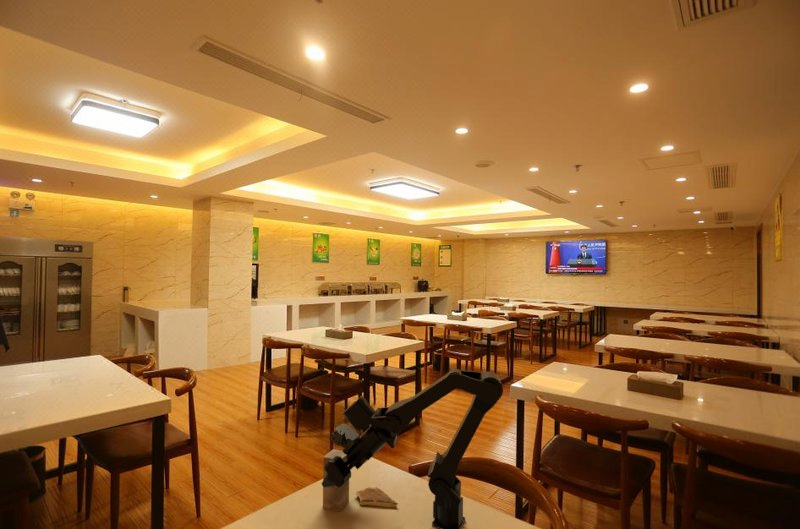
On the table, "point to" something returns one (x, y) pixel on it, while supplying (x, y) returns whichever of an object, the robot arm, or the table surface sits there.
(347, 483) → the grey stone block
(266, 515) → the table surface
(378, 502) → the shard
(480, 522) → the table surface
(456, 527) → the robot arm
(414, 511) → the table surface
